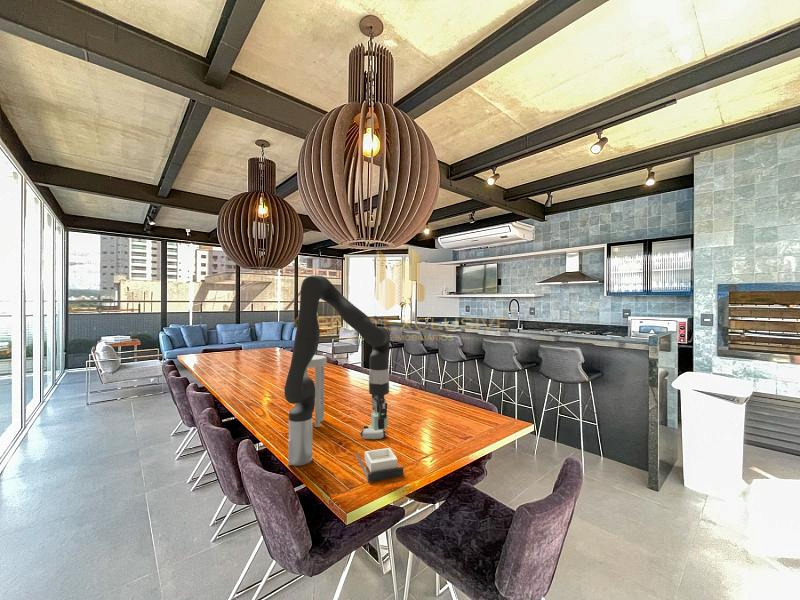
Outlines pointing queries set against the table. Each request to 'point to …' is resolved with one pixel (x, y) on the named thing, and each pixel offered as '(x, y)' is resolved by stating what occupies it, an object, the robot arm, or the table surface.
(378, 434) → the robot toy
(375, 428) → the block
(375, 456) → the white square tray
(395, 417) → the table surface
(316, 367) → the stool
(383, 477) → the track
